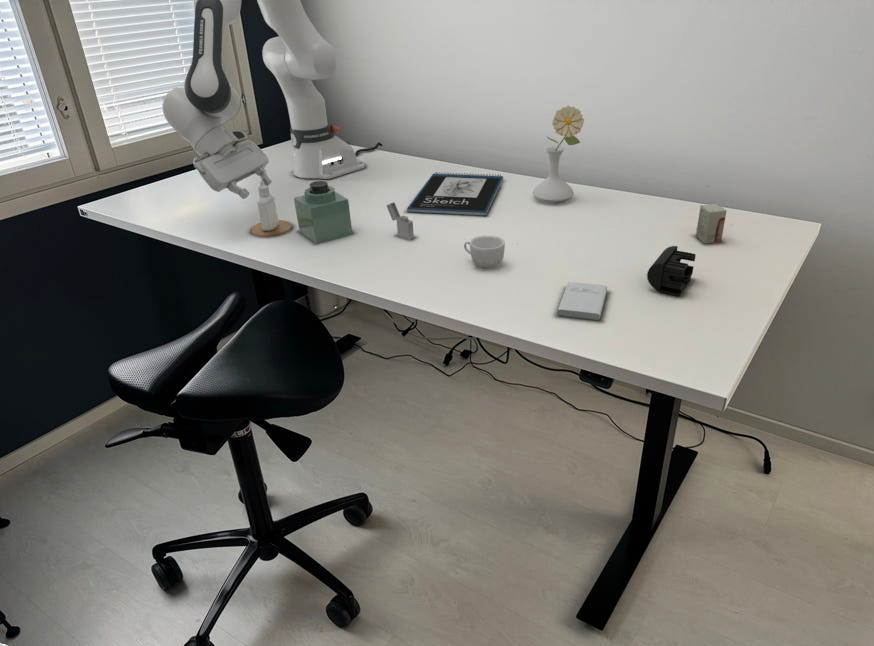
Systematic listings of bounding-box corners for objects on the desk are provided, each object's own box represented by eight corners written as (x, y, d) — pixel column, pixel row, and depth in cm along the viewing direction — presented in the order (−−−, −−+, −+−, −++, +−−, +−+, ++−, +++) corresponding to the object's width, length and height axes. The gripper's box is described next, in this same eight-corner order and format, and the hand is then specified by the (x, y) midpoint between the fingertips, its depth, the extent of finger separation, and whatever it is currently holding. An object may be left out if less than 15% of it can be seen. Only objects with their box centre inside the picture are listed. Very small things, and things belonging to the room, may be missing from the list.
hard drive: (557, 316, 132) (567, 288, 142) (599, 321, 130) (606, 292, 140) (557, 308, 131) (567, 281, 141) (600, 313, 129) (607, 285, 139)
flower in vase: (526, 203, 185) (529, 108, 172) (538, 190, 194) (542, 99, 180) (573, 208, 181) (579, 111, 167) (583, 194, 190) (590, 101, 176)
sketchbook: (407, 213, 182) (406, 205, 181) (434, 177, 207) (433, 171, 206) (486, 216, 178) (485, 208, 177) (503, 180, 203) (503, 173, 202)
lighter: (414, 237, 167) (412, 206, 163) (409, 239, 166) (407, 208, 162) (393, 231, 171) (390, 200, 167) (388, 233, 170) (385, 202, 166)
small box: (721, 242, 160) (727, 210, 155) (704, 244, 159) (710, 212, 155) (711, 234, 164) (717, 203, 159) (694, 236, 163) (700, 204, 159)
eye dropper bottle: (285, 225, 175) (276, 180, 168) (267, 232, 171) (258, 186, 164) (274, 222, 177) (266, 177, 170) (256, 228, 173) (247, 183, 167)
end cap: (659, 272, 147) (663, 243, 144) (692, 278, 144) (697, 249, 140) (644, 290, 140) (648, 260, 136) (678, 298, 137) (683, 267, 133)
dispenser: (334, 222, 177) (329, 181, 171) (352, 233, 170) (347, 191, 164) (299, 231, 173) (292, 189, 167) (316, 243, 166) (309, 200, 160)
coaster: (282, 219, 180) (282, 217, 180) (297, 230, 173) (297, 228, 173) (246, 228, 175) (245, 226, 175) (260, 240, 169) (260, 237, 168)
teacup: (510, 261, 154) (511, 239, 151) (494, 274, 148) (493, 251, 146) (473, 252, 158) (472, 231, 156) (455, 265, 153) (454, 243, 150)
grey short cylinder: (324, 187, 168) (322, 179, 167) (331, 192, 165) (330, 184, 164) (307, 191, 166) (306, 183, 165) (315, 196, 163) (314, 188, 162)
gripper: (194, 151, 157) (238, 196, 160) (247, 129, 173) (286, 170, 176) (184, 169, 161) (226, 212, 163) (236, 145, 177) (275, 185, 179)
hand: (258, 190), depth 170 cm, fingers open, 8 cm apart
